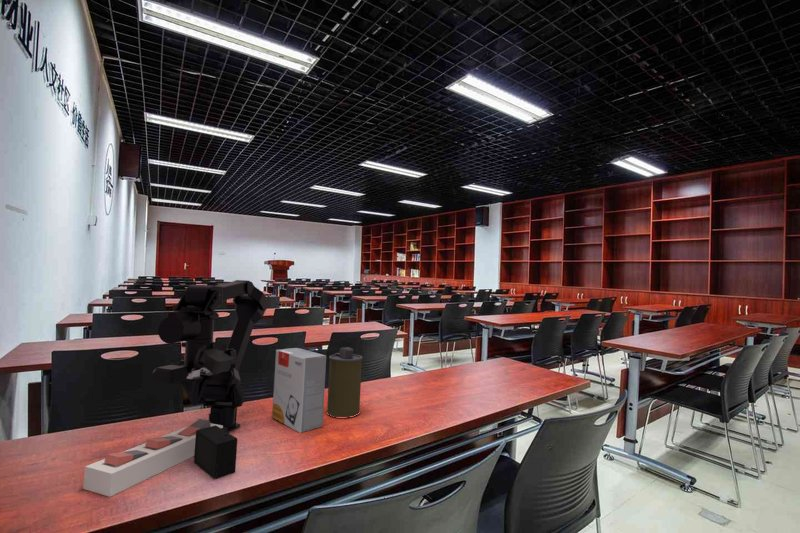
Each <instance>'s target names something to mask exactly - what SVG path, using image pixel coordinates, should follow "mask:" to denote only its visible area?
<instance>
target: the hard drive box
mask: <svg viewBox="0 0 800 533" xmlns="http://www.w3.org/2000/svg"><path fill="white" fill-rule="evenodd" d="M326 365H327V355H325V354H322V353H318V352H315V351H311V350H307V349H304V348H299V347H293V348H292V347H291V348H290V347H289V348H283V349H275V362H274V379H273V396H272V410H271V412H272V413H271V418H272V417H273V418H272V419H274V420H276V421H277V420H278V421H279V423H281V424H282V425H285V426H287V427H289V428H290V429H291V428H292V430H293V431H295V432H297V433H299V434H302V433H305V431H306V432H308V431H312V430H315V428H316V429H319V428H322V427H323V426H324V409H325V408H324V405H325V387H326V385H325V384H326V371H327V370H326V369H327V367H326ZM278 421H277V422H278Z"/></svg>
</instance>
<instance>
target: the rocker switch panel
mask: <svg viewBox="0 0 800 533" xmlns="http://www.w3.org/2000/svg"><path fill="white" fill-rule="evenodd" d="M212 426H218V427H219V428H223V426H222V425H217V424H212V423H210V427H212ZM187 427H188V426H185V427H183V428H181V429H178V430H175V431H173V432H170V433H167V434H165V435H162V436H161V437H167V436H174V437H178V438H182V440H180V441H178V442H176V443H173V444H171V445H168V446H166V447H164V448H158V449H155V448H151V447H147V446H145V445H146V442H145V443H142V444H139V445H137V446H134V447H132V448H129V449H126V450H124V451H123V452H126V451H133V450H138V451H142V452H147V453H148V454H147V455H145V456H142V457H140V458H138V459H135V460H133V461H131V462H128V463H126V464H122V465H112V464H108V463H105V462H104V461H105V458H104V459H101V460H98V461H96V462H93V463H90V464H87V465H86V466H84V477H83V478H84V479H83V485H82V486H83V488H82V489H83V490H87V491H89V492H93V493H95V494H98V495H103V496H105V497H108V498H111V497H112V496H115V495H117V494H118V493H121V492H123V491H125V490H127V489H129V488H131V487H133V486H136V485H137V484H140V483H142V482H143V481H145V480H148V479H149V478H150V479H151V477H154V476H155V475H158V474H160V473H162V472H164V471H167V470H168V469H170V468H172V467H174V466H176V465H178V464H181V463H183V462H185V461H186V460H189V459H191V458H194V453H195V439H196V434H195V435H192V436H190V437H188V436H183V435H178V433H179V432H181V431H182V430H184V429H185V428H187Z"/></svg>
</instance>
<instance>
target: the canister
mask: <svg viewBox="0 0 800 533" xmlns="http://www.w3.org/2000/svg"><path fill="white" fill-rule="evenodd" d="M328 358H329V365H328V368H329V369H328V385H327V386H328V387H327V404H326V405H327V406H326V407H327V408H326V412H328V414H329V415H331V416H334V417H350V416H354V415H356V414H358V413H359V410H360V409H361V408H360V406H361V387H362V385H361V384H362V383H361V382H362V366H363V365H362V363H363V361H362V360H363V358H364V357H363V356H362V355H360V354H355V353H354V349H353V348H352V347H349V346H348V347H346V346H345V347H339V351H338V352H334V353H333V354H331V355H329V357H328Z"/></svg>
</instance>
